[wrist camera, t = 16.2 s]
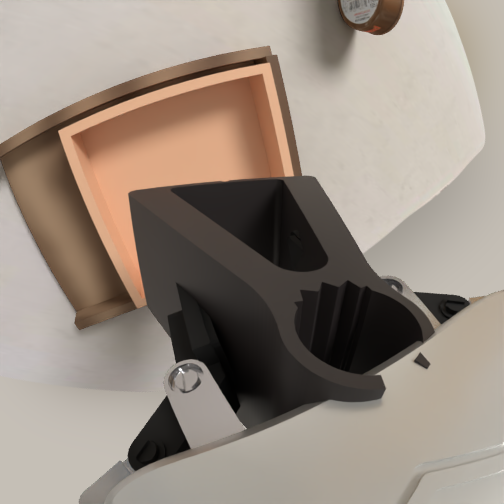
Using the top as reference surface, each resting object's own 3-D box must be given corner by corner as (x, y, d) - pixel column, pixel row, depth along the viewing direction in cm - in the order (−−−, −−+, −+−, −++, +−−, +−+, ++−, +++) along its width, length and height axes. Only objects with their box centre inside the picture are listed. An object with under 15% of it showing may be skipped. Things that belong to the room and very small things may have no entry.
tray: (82, 314, 30) (78, 336, 27) (0, 147, 20) (-18, 154, 17) (296, 232, 35) (313, 246, 32) (258, 50, 24) (274, 44, 21)
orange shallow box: (136, 282, 30) (137, 308, 26) (71, 127, 21) (57, 131, 18) (285, 226, 33) (305, 244, 29) (250, 68, 24) (269, 62, 21)
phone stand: (146, 300, 16) (180, 535, 5) (128, 189, 13) (97, 455, 3) (302, 276, 18) (437, 439, 8) (311, 175, 15) (523, 305, 5)
